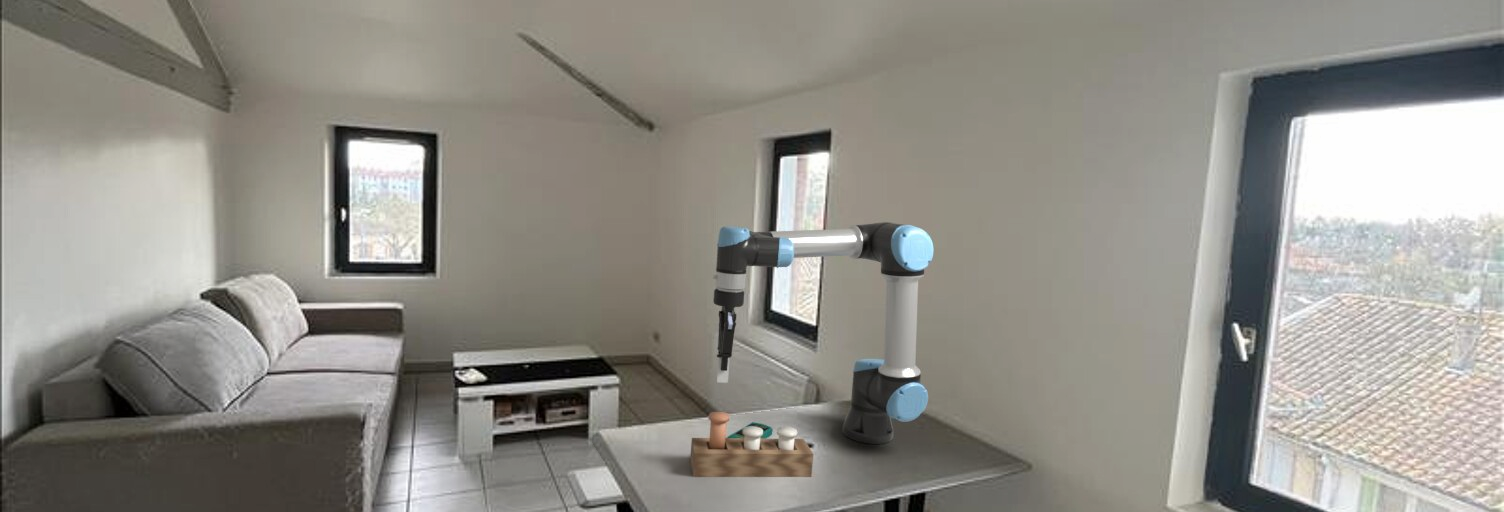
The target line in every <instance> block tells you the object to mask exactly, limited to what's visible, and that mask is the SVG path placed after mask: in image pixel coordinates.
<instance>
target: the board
mask: <svg viewBox="0 0 1504 512" xmlns="http://www.w3.org/2000/svg"><path fill="white" fill-rule="evenodd" d="M709 439H710V437H691V443H690V444H691V445H690V456H689V457H690V458H689V460H690V466H691V471H692V476H693V478H694V477H695V478H696V477H697V478H701V477H702V478H703V477H704V478H705V477H706V478H716V477H717V478H719V477H720V478H724V477H725V478H727V477H728V478H732V477H733V478H737V477H738V478H739V477H740V478H745V477H747V478H756V477H757V478H758V477H759V478H763V477H765V478H773V477H774V478H775V477H776V478H777V477H778V478H780V477H781V478H782V477H783V478H785V477H787V478H788V477H790V478H793V477H794V478H798V477H799V478H803V477H804V478H809V477H810V478H811V477H812V475H813V474H812V473H813V464H814V463H813V462H814V453H813V451H812V450H811V448H810V446H809V444H808V443H807V442H806V440H805V439H804V438H794V450H778V443H779V438H766V439H762V438H760V447H759V450H744V439H745V438H728V437H725V450H719V449H709Z"/></svg>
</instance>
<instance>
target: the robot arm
mask: <svg viewBox="0 0 1504 512" xmlns="http://www.w3.org/2000/svg"><path fill="white" fill-rule="evenodd" d="M716 246H717V249H716V252H717V253H716V266H715V274H713V275H712V279H715V280H714V287H716V288H715V289H714V290H713V304H715V306H718V307H721V310H719V311H718V337H717V340H718V341H717V350H718V352H717V353H718V354H716V358H717V370H716V383H723V384H728V383H729V372H730V362H731V361H730V360H731V357H732V356H733V354H732V353H733V346H734V336H735V330H736V325H737V322H736V320H737V313H736V311H735V308H739V307H742V306H744V303H745V302H744V301H745V291H744V290H745V289H746V281H747V267H765V268H766V267H767V268H769V267H770V268H776V269H778V268H787V267H790V266H791V265H792V263H793V261H794V259H797V258H800V259H801V258H820V257H821V258H823V257H824V258H825V257H845V256H847V257H850V258H851V259H853V260H854V259H858V260H859V259H862V260H868V261H869V260H870V261H875V262H878V263H880V275H881V276H882V277H883V278H885V309H884V310H885V315H884V316H885V318H884V344H883V346H884V347H883V348H884V349H883V352H884V353H883V359H882V358H881V359H880V358H863V359H862V358H861V359H858V360H856V361H855V363H854V368H853V371H852V373H853V375H852V376H853V377H852V387H851V396H850V397H851V399H850V405H849V406H850V407H849V409H848V411H847V414H846V417H845V418H844V420H843V423H842V429H841V430H842V434H843V435H844V436H845V437H847V438H848V439H850V440H853V441H856V442H860V443H865V444H872V445H873V444H874V445H876V444H877V445H879V444H882V445H883V444H886V443H890V442H892V441H893V439H894V427H893V423H892V419H895V420H897V421H898V422H907V423H908V422H911V421H914V420H915V419H917V418H919V417H920V415H921V414H922V413H924V412H925V410H926V408H927V405H928V402H929V394H928V390H927V389H926V388H925V386H924V385H923V384H921V375H922V373H921V372H922V371H921V370H920V368H919V367H918V366H917V365H916V359H917V358H916V357H917V354H916V353H917V332H918V329H917V328H918V297H919V295H918V294H919V280H920V279H922V278H923V277H924V276H925V269H926V268H928V267H929V263H931V262H932V260H933V256H934V244H933V241H932V238H931V236H930V235H929V234H928V233H927V232H926V231H925V230H924V229H922V228H920V227H918V226H914V225H912V224H902V223H894V222H886V221H884V222H874V223H866V224H865V223H864V224H853V225H849V227H848V228H839V229H808V230H807V229H806V230H804V229H803V230H778V231H777V230H776V231H752V230H750V229H749V228H747V227H743V226H742V227H740V226H730V225H729V226H723V227H720V229H719V232H718V238H717V244H716Z"/></svg>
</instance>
